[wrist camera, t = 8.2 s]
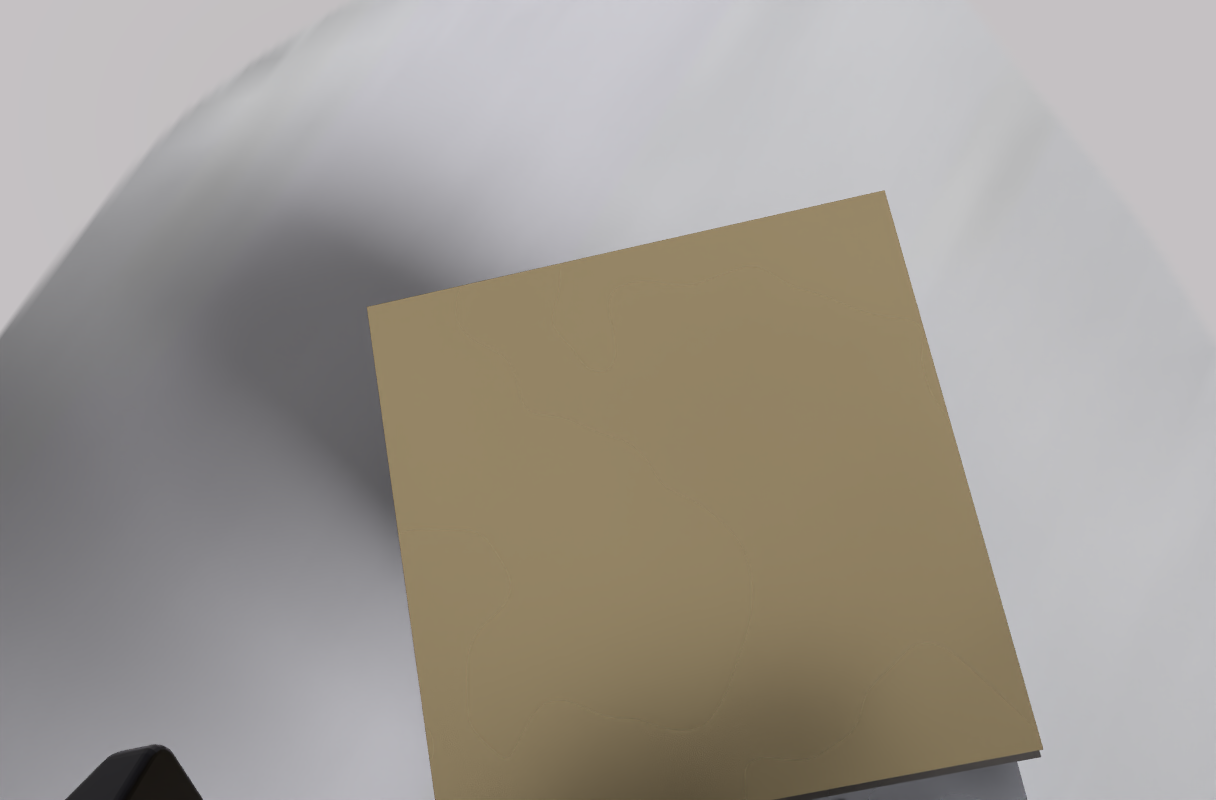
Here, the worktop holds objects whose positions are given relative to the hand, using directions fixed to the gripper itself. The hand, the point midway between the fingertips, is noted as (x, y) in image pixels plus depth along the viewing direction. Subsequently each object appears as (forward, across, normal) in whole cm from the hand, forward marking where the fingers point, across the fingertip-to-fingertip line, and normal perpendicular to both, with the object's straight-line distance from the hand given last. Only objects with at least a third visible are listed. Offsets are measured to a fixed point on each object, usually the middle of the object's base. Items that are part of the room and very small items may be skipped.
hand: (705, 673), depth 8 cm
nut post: (+8, 0, +7) cm, 11 cm away
